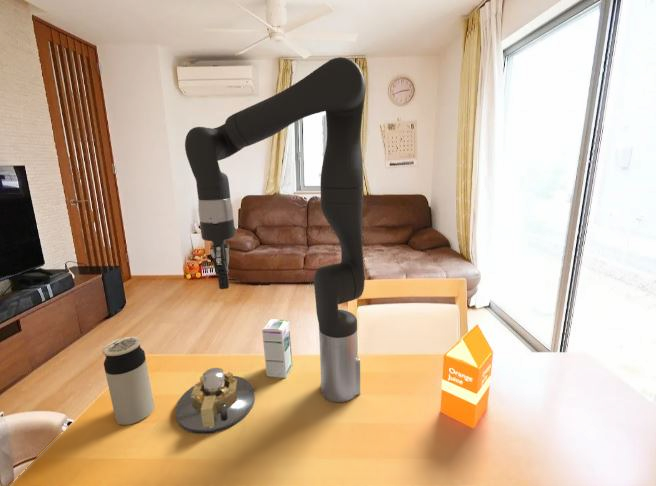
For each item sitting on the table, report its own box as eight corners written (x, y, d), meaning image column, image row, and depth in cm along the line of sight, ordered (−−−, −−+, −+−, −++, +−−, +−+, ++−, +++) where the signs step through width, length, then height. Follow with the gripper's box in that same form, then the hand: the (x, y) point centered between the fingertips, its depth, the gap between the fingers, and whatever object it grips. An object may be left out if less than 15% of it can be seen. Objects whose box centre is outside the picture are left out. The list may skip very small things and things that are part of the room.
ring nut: (199, 387, 84) (196, 371, 83) (239, 382, 86) (237, 367, 85) (184, 430, 71) (181, 412, 70) (232, 423, 72) (230, 406, 71)
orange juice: (488, 406, 78) (496, 328, 73) (474, 429, 71) (481, 345, 67) (455, 391, 83) (460, 318, 78) (439, 411, 77) (444, 332, 72)
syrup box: (286, 378, 90) (283, 329, 86) (265, 376, 91) (261, 328, 87) (292, 366, 95) (289, 319, 91) (273, 364, 96) (269, 318, 93)
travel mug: (161, 406, 81) (150, 339, 76) (130, 430, 74) (116, 358, 69) (139, 397, 84) (127, 333, 80) (108, 419, 77) (92, 350, 73)
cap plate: (253, 375, 91) (251, 347, 89) (255, 424, 74) (252, 391, 72) (183, 387, 87) (179, 358, 85) (168, 442, 70) (162, 407, 68)
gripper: (203, 214, 83) (210, 280, 87) (195, 224, 70) (205, 300, 75) (234, 213, 85) (240, 277, 89) (232, 221, 72) (239, 296, 76)
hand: (224, 287), depth 82 cm, fingers closed
